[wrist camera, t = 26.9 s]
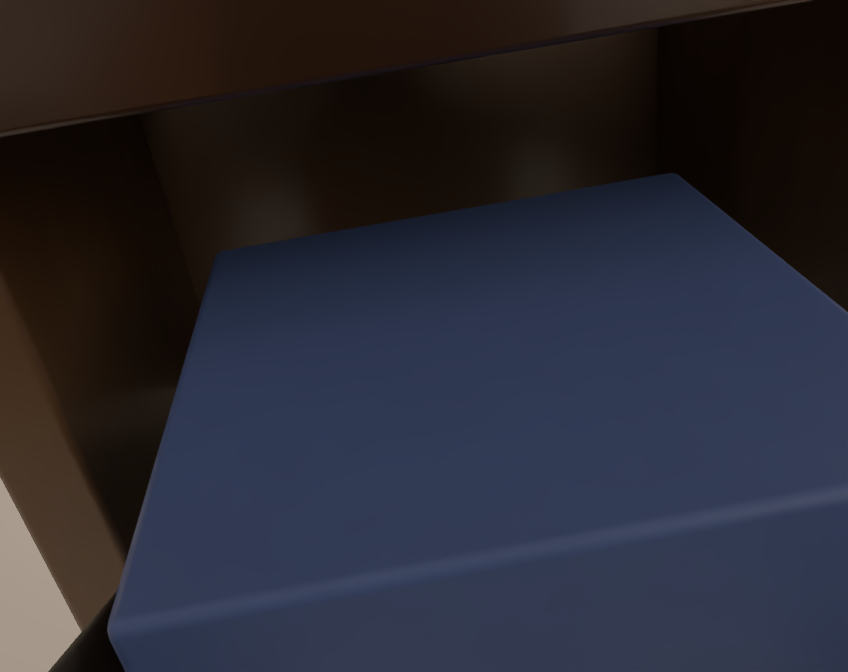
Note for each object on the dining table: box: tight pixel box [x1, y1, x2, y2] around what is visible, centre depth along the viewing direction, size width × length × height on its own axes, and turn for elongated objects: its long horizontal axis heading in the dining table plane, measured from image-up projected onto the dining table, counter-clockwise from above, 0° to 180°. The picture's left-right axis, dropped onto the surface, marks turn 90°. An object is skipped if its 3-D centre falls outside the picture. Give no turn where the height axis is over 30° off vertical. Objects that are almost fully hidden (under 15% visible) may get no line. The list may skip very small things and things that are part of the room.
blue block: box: [107, 173, 848, 672], centre depth 7 cm, size 4×4×4 cm
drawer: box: [0, 0, 848, 631], centre depth 11 cm, size 17×10×7 cm, turn 8°
